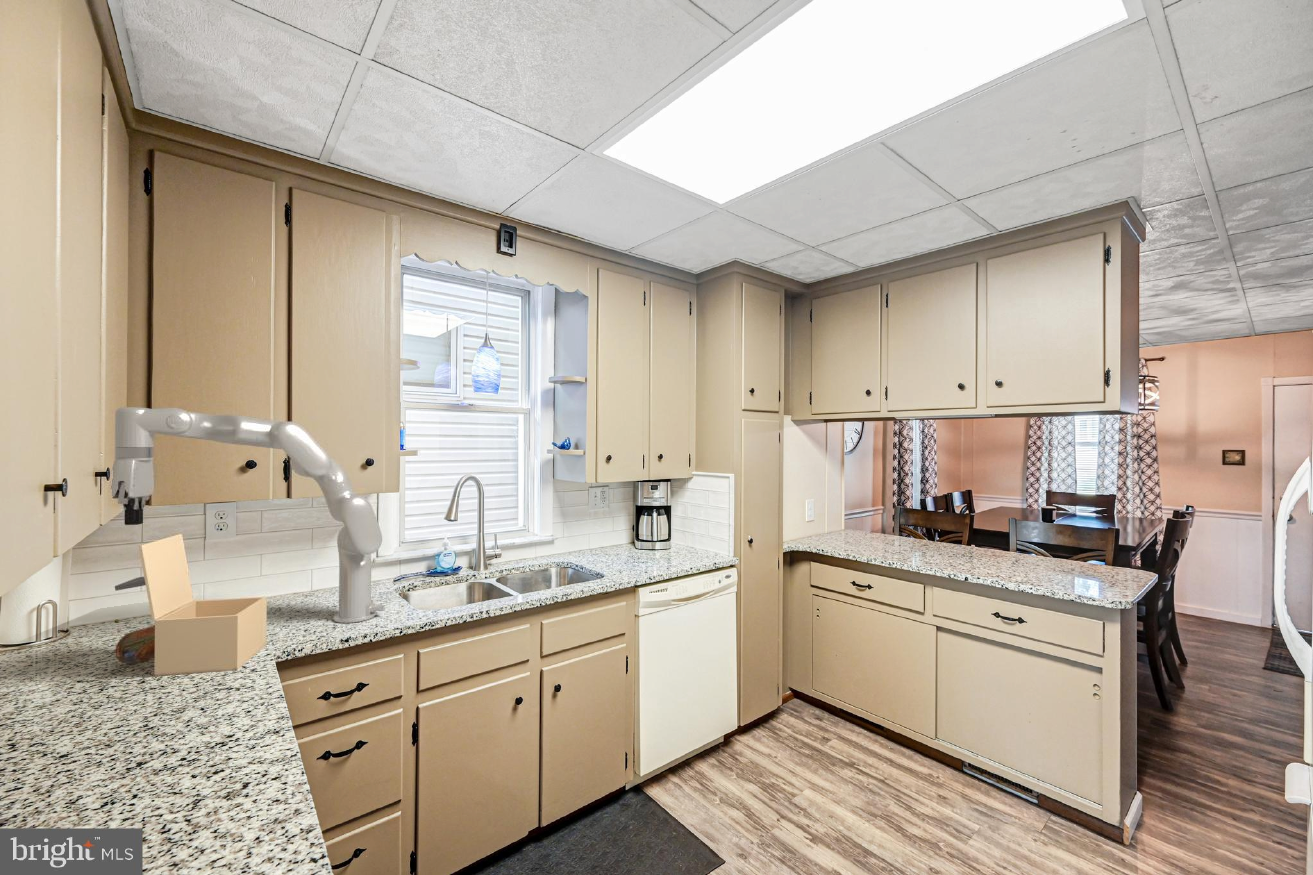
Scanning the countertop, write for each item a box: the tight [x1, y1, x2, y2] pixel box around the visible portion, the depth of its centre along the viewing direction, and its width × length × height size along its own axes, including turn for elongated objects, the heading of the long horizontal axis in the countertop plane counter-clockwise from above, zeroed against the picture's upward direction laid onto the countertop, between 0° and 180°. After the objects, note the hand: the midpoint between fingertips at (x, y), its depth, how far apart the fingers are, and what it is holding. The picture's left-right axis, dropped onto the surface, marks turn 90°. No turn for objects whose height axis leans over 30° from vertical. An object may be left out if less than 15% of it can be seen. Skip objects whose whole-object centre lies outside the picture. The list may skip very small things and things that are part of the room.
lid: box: [114, 533, 195, 621], centre depth 149 cm, size 19×18×10 cm
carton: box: [153, 596, 268, 677], centre depth 153 cm, size 18×18×14 cm
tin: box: [115, 624, 155, 665], centre depth 154 cm, size 15×3×8 cm, turn 168°
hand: (133, 524), depth 149 cm, fingers closed
